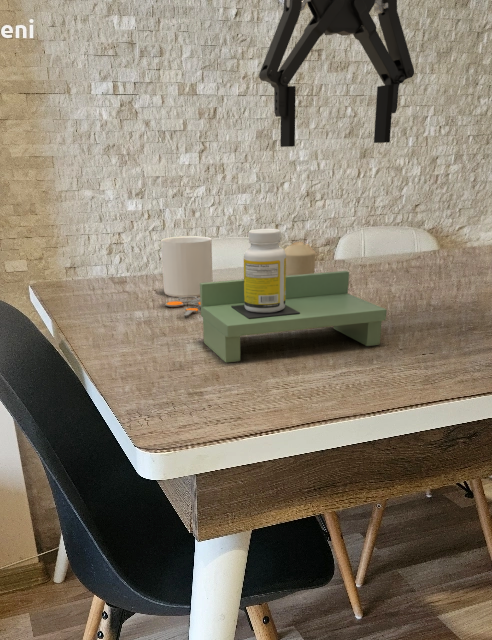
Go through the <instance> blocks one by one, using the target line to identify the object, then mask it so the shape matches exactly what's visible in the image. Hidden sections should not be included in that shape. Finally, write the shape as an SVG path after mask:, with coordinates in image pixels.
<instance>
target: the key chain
mask: <svg viewBox="0 0 492 640" xmlns="http://www.w3.org/2000/svg"><path fill="white" fill-rule="evenodd" d="M189 298H190V299H191V300H188V299H189ZM192 298H194V299H192ZM177 299H178V300H173V301H172V300H171V301H167V302H165V304H164V305H165V306H166V307H169V308H170V307H172V308H174V307H175V308H176V307H182V306H184V305H185V304H188V303H189V305H192V306H196V307H189V308H186V309H185V311H184V313H183V314H182V315H183V316H184V317H188V316H190V315H191V314H192V313H195V312H198V311H199V309H201V304H200V297H196V296H187V297H177Z"/></svg>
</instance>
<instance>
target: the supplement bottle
mask: <svg viewBox="0 0 492 640" xmlns="http://www.w3.org/2000/svg"><path fill="white" fill-rule="evenodd" d="M281 236H282V235H281V230H280V229H278V228H255V229H254V228H253V229H250V230H249V231H248V243H249V244H250V247H249V248H247V249H246V250H245V251H244V253H243V279H244V304H245V309H246V310H248V311H250V312H256V313H272V312H277V311H281V310H283V309H284V308H285V297H286V253H285V251H284V249H285V248H283V247H281V246H280V245H279V243H281V239H282V238H281Z"/></svg>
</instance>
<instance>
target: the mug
mask: <svg viewBox="0 0 492 640" xmlns="http://www.w3.org/2000/svg"><path fill="white" fill-rule="evenodd" d="M212 242H213V241H212V238H211V237H209V236H203V235H181V236H170V237H165V238H162V239H161V240H160V247H161V248H160V249H161V262H162V263H161V264H162V280H163V293H164V294H165V295H166V296H168V297H173V298H180V297H187V296H196V297H197V298H200V283H205V282H214V281H213V280H214V279H213V250H212V249H213V248H212V247H213V246H212Z"/></svg>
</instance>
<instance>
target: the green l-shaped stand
mask: <svg viewBox="0 0 492 640" xmlns="http://www.w3.org/2000/svg"><path fill="white" fill-rule="evenodd" d="M349 282H350V271H348V270H337V271H326V272H314V273H313V274H301V275H289V276H286V297H285V308H284V309H283V310H281V311H277V312H272V313H256V312H250V311H248V310H246V309H245V304H244V278H243V279H232V280H231V279H230V280H219V281H213V282H205V283H200V296H199V299H200V304H201V307H200V317H202V329H203V330H202V331H203V344H204V345H206V346H207V347H208V348H209V349H210V350H211V351H213V352H214V354H215V355H217V357H219V358H220V359H221V360H222V361H223V362H224V363H225V364H226V363H235V362H241V337H246V336H255V335H264V334H274V333H282V332H292V331H301V330H311V329H320V328H329V327H330V328H331V327H333V329H334V330H336V331H337V332H339V333H341V334H343V335H345V336H347V337H349V338H351V339H352V340H354V341H356V342H358V343H360V344H362V345H364V346H365V347H374V346H379V345H381V336H382V335H381V334H382V325H383V322H385V321H387V312H388V311H387V309H386V308H384V307H382V306H379V305H377V304H375V303H372V302H370V301H367V300H365V299H363V298H360V297H358V296H355V295H353V294H352V293H351V294H350V293H349Z"/></svg>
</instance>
